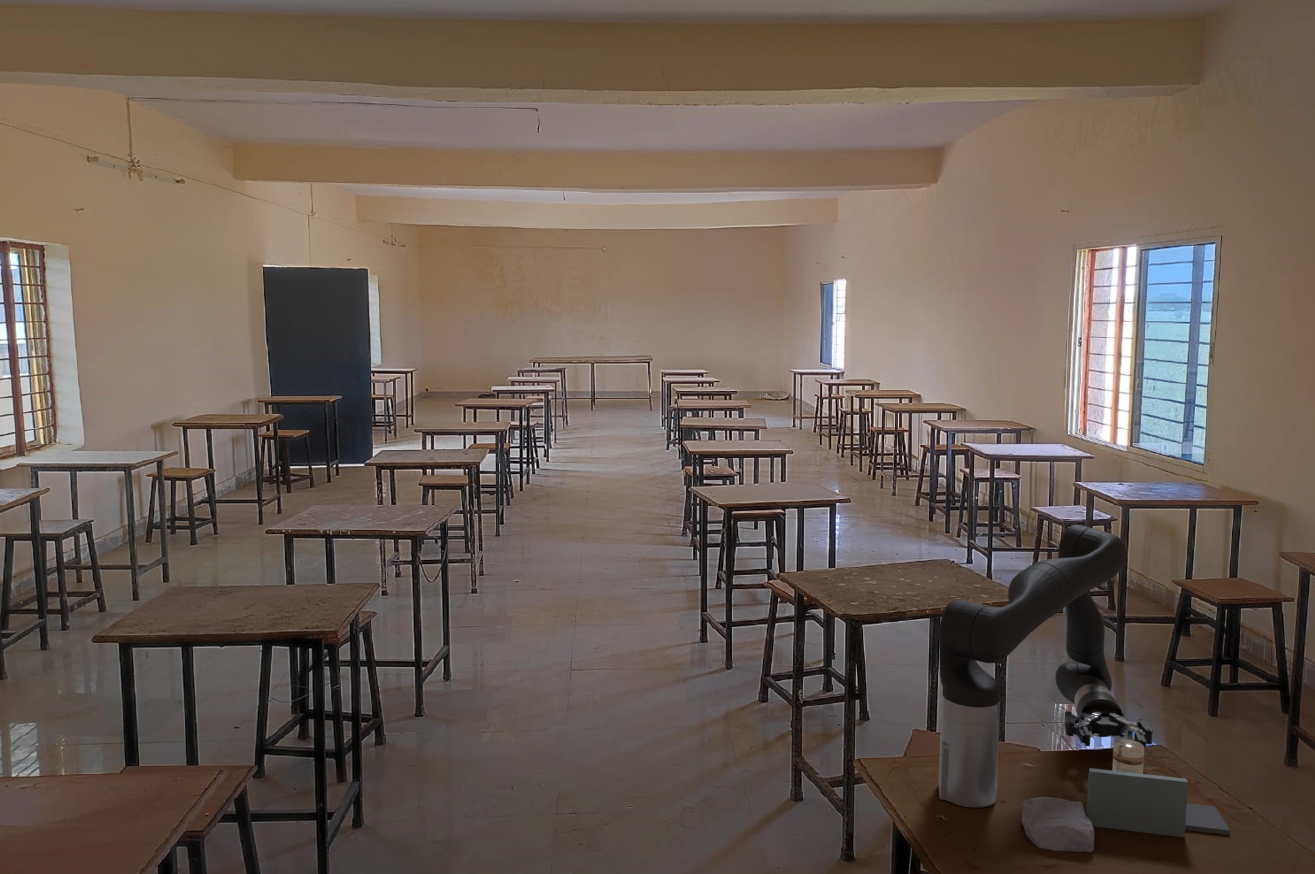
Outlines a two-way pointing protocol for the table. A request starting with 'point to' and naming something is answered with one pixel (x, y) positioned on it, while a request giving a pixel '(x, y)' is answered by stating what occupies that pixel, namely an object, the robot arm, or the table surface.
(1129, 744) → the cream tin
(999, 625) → the robot arm
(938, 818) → the table surface
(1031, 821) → the stone block
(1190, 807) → the dark rubber mat
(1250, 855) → the table surface
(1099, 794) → the slate screen
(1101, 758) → the table surface
